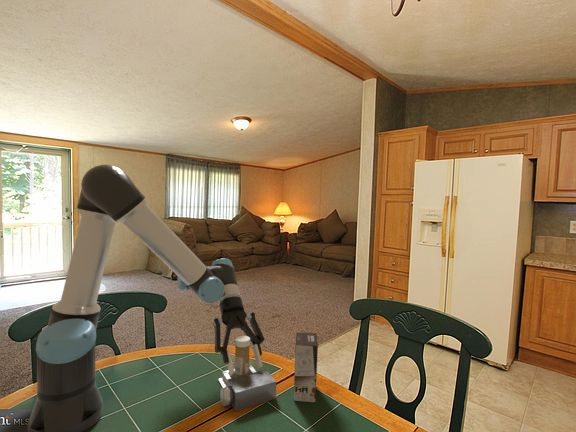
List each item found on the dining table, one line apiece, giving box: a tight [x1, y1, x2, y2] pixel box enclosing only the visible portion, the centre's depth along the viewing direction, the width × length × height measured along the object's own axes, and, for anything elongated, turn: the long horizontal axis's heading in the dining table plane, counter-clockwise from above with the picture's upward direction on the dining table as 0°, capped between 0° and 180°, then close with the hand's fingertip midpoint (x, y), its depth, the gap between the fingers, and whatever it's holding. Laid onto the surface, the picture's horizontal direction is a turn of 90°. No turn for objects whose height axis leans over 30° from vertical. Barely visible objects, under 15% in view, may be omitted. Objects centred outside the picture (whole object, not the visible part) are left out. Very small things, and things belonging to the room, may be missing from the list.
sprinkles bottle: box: [234, 335, 251, 377], centre depth 94 cm, size 5×5×13 cm
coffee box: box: [293, 331, 319, 403], centre depth 91 cm, size 9×6×16 cm
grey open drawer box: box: [217, 364, 277, 412], centre depth 91 cm, size 14×16×5 cm
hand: (246, 370), depth 91 cm, fingers open, 8 cm apart
